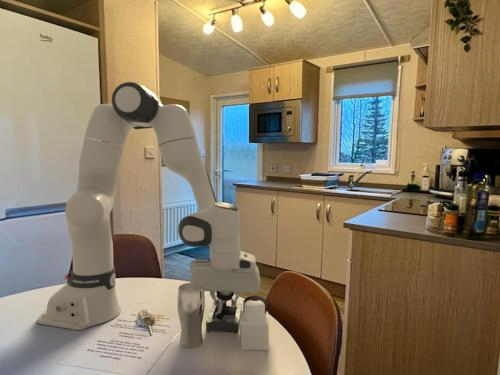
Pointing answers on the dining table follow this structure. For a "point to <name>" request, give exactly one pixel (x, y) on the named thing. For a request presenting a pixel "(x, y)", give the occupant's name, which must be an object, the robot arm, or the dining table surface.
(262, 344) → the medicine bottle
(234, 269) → the robot arm
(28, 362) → the dining table surface
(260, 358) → the dining table surface
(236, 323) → the frame
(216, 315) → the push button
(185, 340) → the beer glass
